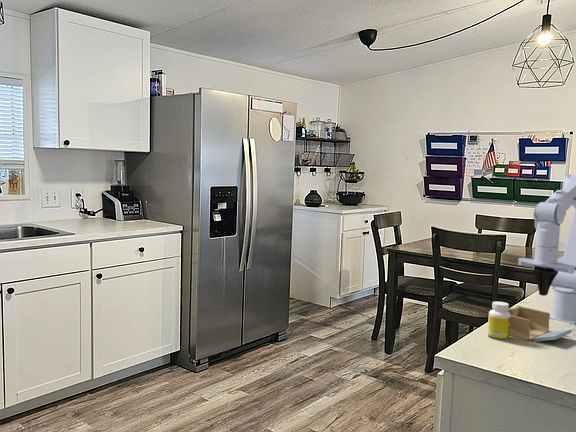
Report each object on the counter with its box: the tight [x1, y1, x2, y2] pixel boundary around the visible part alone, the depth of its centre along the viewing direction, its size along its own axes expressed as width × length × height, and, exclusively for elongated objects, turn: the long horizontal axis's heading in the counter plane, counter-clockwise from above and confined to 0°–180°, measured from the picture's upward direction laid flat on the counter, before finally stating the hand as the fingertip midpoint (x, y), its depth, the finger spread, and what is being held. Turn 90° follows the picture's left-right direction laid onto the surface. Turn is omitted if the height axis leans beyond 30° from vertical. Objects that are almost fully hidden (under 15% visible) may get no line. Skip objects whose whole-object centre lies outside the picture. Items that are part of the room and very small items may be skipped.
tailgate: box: [533, 329, 573, 342], centre depth 137 cm, size 9×1×6 cm
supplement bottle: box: [486, 301, 511, 342], centre depth 138 cm, size 5×5×10 cm
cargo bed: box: [507, 305, 552, 343], centre depth 143 cm, size 12×10×6 cm
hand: (543, 294), depth 145 cm, fingers closed
